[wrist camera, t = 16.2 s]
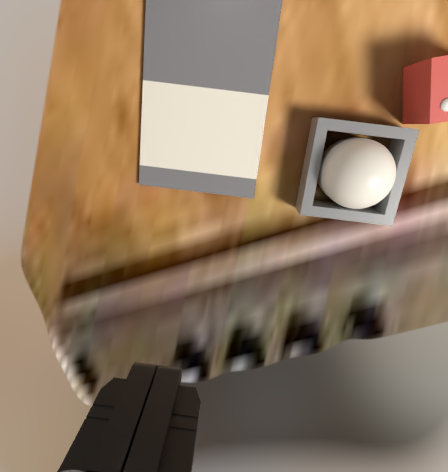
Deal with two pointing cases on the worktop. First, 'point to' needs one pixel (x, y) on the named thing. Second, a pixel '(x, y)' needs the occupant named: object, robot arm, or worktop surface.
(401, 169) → the dome base
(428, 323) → the worktop surface
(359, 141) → the dome cap
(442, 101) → the die
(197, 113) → the game board
